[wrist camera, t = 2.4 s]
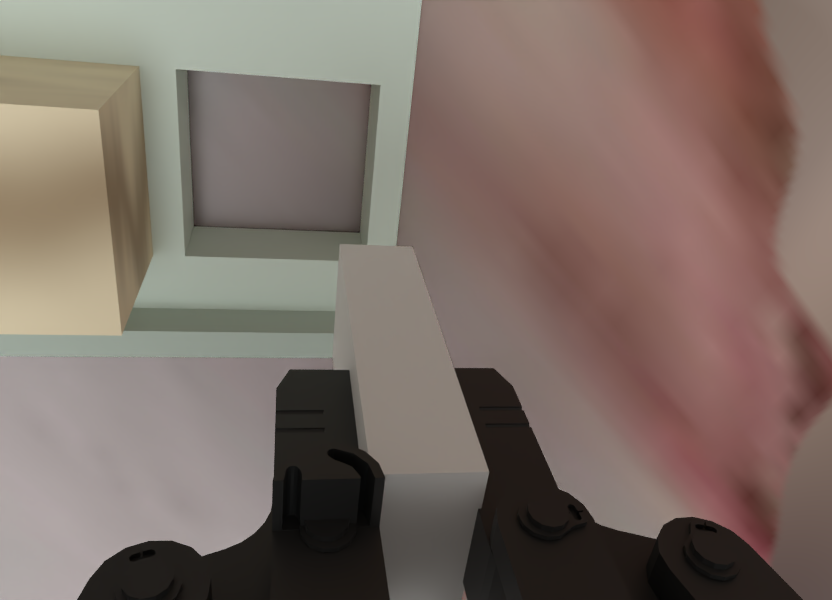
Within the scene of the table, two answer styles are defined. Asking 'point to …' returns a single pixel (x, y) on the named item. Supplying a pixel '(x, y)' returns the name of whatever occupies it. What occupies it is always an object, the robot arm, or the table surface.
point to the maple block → (71, 196)
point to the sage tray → (172, 176)
